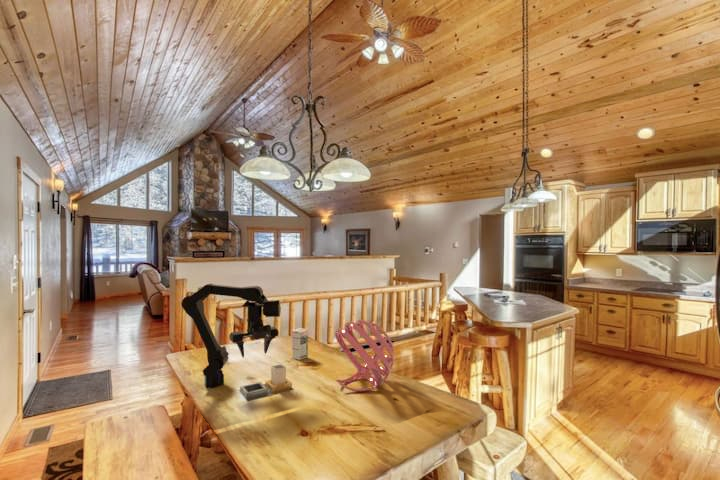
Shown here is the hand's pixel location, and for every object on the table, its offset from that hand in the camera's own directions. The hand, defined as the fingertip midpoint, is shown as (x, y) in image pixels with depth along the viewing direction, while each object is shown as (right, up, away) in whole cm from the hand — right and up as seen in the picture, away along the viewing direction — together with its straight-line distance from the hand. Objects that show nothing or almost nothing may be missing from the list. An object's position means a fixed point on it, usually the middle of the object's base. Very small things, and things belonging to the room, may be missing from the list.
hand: (254, 355), depth 142 cm
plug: (+11, -11, -4) cm, 16 cm away
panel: (+7, -12, -7) cm, 16 cm away
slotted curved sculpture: (+45, -13, +1) cm, 47 cm away
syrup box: (+12, -14, +36) cm, 41 cm away
